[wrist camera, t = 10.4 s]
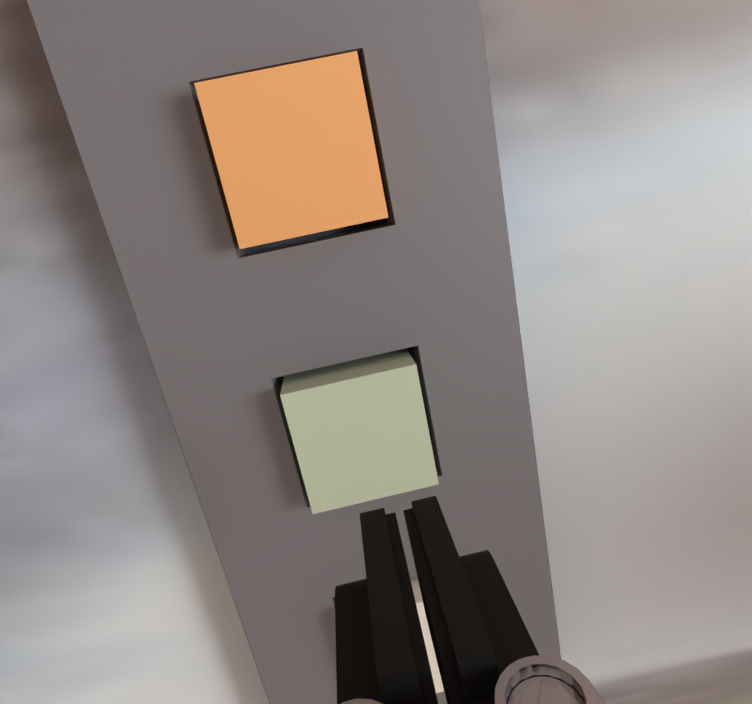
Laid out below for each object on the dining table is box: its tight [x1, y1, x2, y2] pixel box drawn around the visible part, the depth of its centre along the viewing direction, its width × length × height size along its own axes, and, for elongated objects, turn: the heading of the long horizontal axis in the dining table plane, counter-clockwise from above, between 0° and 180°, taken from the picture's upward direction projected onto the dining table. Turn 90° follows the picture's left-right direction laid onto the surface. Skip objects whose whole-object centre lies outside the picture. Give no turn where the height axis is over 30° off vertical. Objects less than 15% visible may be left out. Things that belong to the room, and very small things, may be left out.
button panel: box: [27, 0, 561, 704], centre depth 19 cm, size 12×30×2 cm, turn 11°
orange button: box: [194, 51, 388, 249], centre depth 15 cm, size 4×4×2 cm
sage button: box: [280, 348, 439, 514], centre depth 18 cm, size 4×4×2 cm
